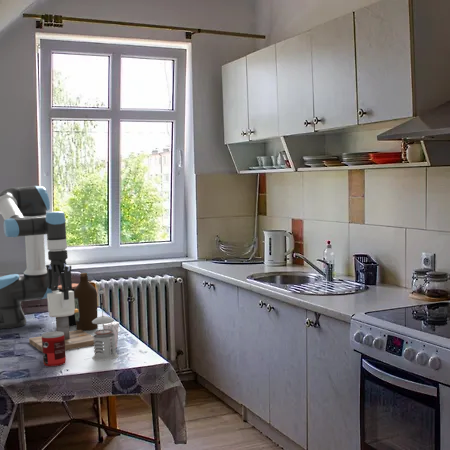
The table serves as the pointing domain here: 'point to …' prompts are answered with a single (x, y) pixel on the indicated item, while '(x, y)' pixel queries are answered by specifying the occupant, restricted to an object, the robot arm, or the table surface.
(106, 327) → the smoothie
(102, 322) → the french press
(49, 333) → the canned food
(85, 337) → the post board
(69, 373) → the table surface
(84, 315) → the olive oil
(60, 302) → the cap
